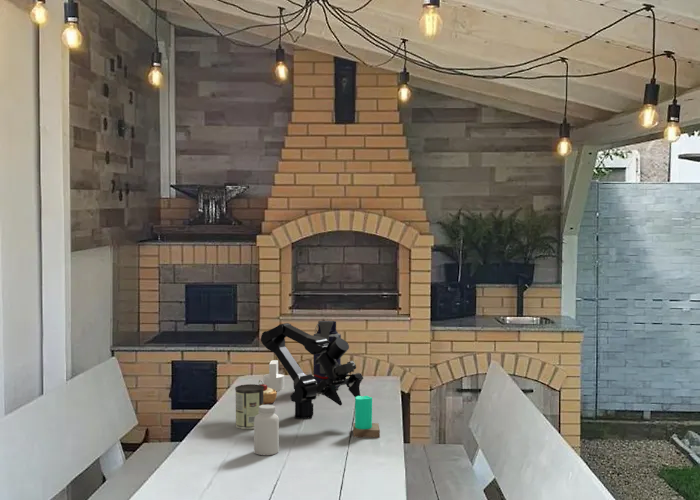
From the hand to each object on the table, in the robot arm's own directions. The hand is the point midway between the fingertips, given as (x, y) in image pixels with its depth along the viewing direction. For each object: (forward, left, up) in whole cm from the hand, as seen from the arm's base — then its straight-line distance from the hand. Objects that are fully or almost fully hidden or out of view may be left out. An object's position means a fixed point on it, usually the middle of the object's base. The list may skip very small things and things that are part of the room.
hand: (350, 402), depth 286 cm
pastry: (-35, +40, -10) cm, 54 cm away
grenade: (-10, +65, -10) cm, 66 cm away
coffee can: (-37, +5, -10) cm, 38 cm away
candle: (+4, -6, -7) cm, 10 cm away
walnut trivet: (+5, -5, -10) cm, 12 cm away
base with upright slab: (-33, +64, -10) cm, 72 cm away
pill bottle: (-28, -27, -10) cm, 40 cm away
